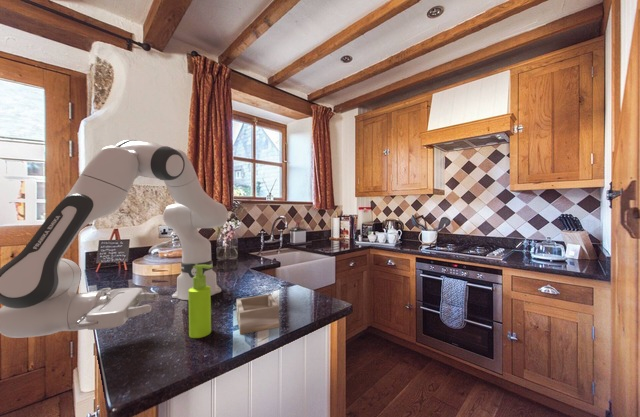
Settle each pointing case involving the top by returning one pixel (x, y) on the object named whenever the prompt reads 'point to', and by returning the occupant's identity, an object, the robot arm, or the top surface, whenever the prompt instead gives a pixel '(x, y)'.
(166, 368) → the top surface
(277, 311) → the box
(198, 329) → the soap dispenser
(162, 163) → the robot arm
